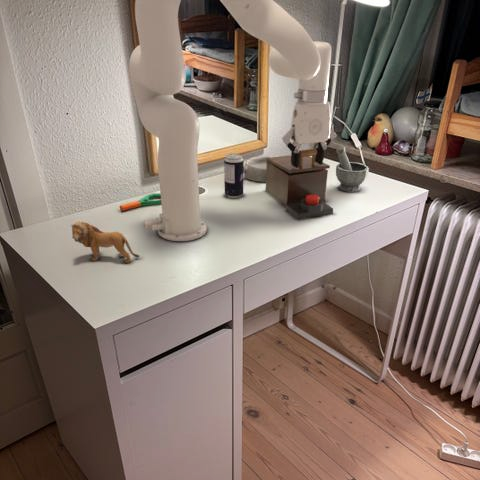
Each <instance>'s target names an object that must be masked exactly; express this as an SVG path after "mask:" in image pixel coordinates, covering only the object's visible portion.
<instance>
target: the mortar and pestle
mask: <svg viewBox="0 0 480 480" xmlns="http://www.w3.org/2000/svg"><path fill="white" fill-rule="evenodd" d="M335 152H336V154H337V156H338V160H339V161H338V162H339V163H338V164H337V165H336V166H335V176H336V179H337V181H338V182H339V183H340V184H339V189H340V191H344V192H350V193H356V192H359V191H360V190H361V185H362V184H363V183H364V181H366V179H367V176H368V174H369V170H370V167H369V166H368V165H367V164H365V163H360V162H355V161H349V158H348V155H347V152H346V147H345V146H341V147H339V148H337V149H336V150H335Z"/></svg>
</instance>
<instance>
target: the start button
mask: <svg viewBox="0 0 480 480" xmlns="http://www.w3.org/2000/svg"><path fill="white" fill-rule="evenodd" d="M306 204H310V205H316V204H319V196H317V195H308V196H306Z"/></svg>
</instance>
